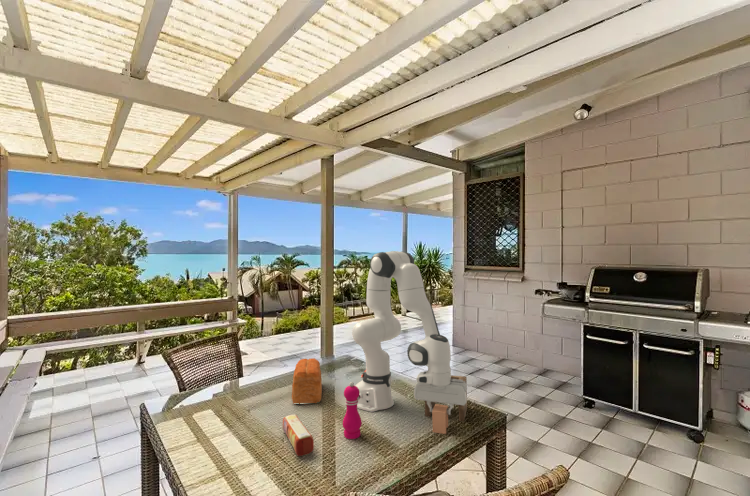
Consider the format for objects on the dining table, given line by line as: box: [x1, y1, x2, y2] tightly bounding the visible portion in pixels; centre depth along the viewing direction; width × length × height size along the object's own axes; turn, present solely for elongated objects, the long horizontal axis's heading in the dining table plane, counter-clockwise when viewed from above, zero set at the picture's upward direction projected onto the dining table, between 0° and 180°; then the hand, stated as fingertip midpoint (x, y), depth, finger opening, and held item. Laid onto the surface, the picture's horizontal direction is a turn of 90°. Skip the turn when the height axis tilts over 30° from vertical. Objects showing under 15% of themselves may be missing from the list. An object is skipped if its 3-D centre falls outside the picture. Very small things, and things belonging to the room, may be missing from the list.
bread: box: [291, 357, 323, 404], centre depth 173 cm, size 14×27×15 cm, turn 9°
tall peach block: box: [431, 403, 449, 435], centre depth 135 cm, size 5×7×8 cm
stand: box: [424, 374, 468, 422], centre depth 151 cm, size 16×14×14 cm
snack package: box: [282, 414, 315, 457], centre depth 128 cm, size 21×7×7 cm, turn 28°
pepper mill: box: [342, 381, 363, 440], centre depth 132 cm, size 7×7×20 cm
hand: (440, 413), depth 135 cm, fingers closed on tall peach block, 5 cm apart
